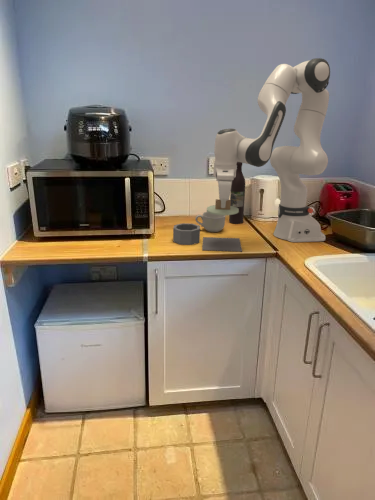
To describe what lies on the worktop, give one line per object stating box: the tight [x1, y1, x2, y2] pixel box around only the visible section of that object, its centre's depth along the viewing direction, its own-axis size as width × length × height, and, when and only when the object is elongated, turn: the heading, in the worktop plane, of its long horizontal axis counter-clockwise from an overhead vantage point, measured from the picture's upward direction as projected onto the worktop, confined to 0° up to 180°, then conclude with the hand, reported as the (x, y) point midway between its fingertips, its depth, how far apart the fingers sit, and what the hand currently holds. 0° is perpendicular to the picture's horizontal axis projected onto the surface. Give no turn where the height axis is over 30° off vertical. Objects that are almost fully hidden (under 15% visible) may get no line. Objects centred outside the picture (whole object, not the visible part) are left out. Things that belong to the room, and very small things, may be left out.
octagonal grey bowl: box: [172, 222, 201, 246], centre depth 162 cm, size 11×11×6 cm
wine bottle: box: [228, 162, 246, 225], centre depth 186 cm, size 7×7×30 cm
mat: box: [201, 236, 243, 253], centre depth 159 cm, size 16×16×1 cm
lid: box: [206, 199, 239, 216], centre depth 153 cm, size 13×13×4 cm
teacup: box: [194, 211, 227, 233], centre depth 177 cm, size 14×11×8 cm
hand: (222, 206), depth 153 cm, fingers closed on lid, 2 cm apart
